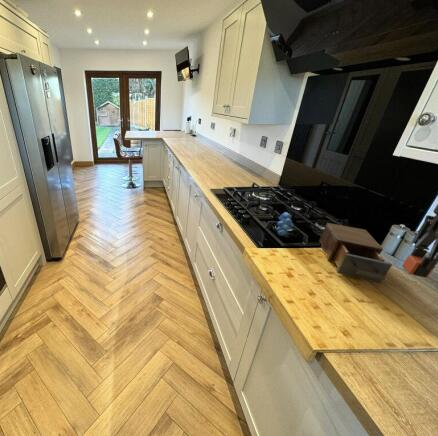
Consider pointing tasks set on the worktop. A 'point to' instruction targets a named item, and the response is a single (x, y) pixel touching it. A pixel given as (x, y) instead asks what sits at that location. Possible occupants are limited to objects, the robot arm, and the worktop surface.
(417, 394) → the worktop surface
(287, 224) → the grapes
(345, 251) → the drawer
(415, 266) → the block
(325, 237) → the cabinet
